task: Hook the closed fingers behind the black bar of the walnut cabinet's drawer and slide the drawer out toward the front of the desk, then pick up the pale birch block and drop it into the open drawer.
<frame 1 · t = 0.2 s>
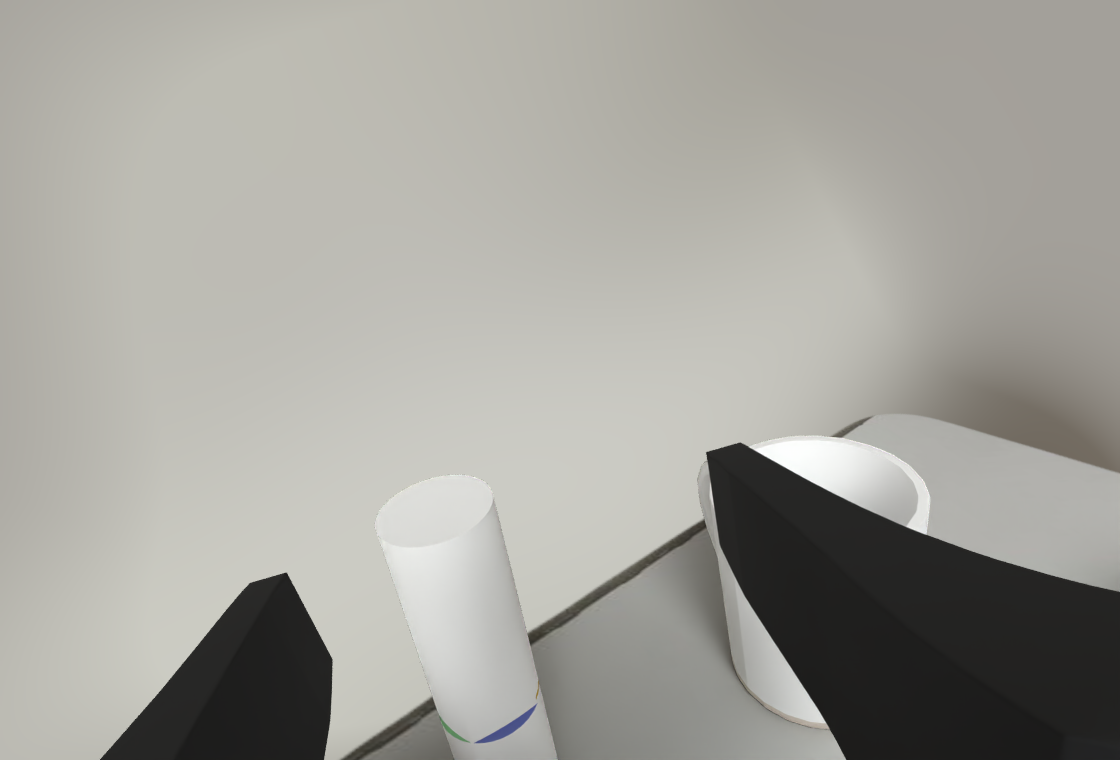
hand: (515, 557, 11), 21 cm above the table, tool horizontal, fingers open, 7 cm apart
mug: (796, 651, 35), on the table
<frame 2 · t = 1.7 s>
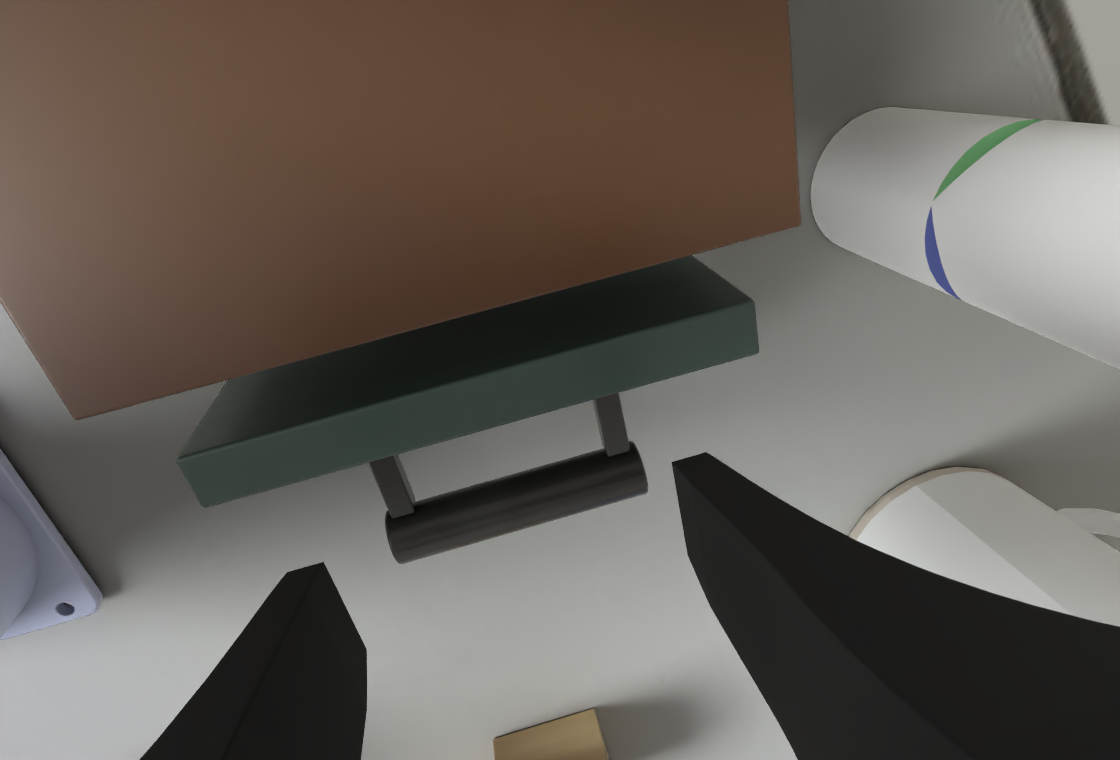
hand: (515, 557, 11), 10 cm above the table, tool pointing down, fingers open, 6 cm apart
drawer: (427, 195, 15), point 4 cm above the table, slide at 1.5 cm
tube: (872, 181, 21), on the table
mug: (945, 529, 28), on the table
block: (555, 755, 29), on the table
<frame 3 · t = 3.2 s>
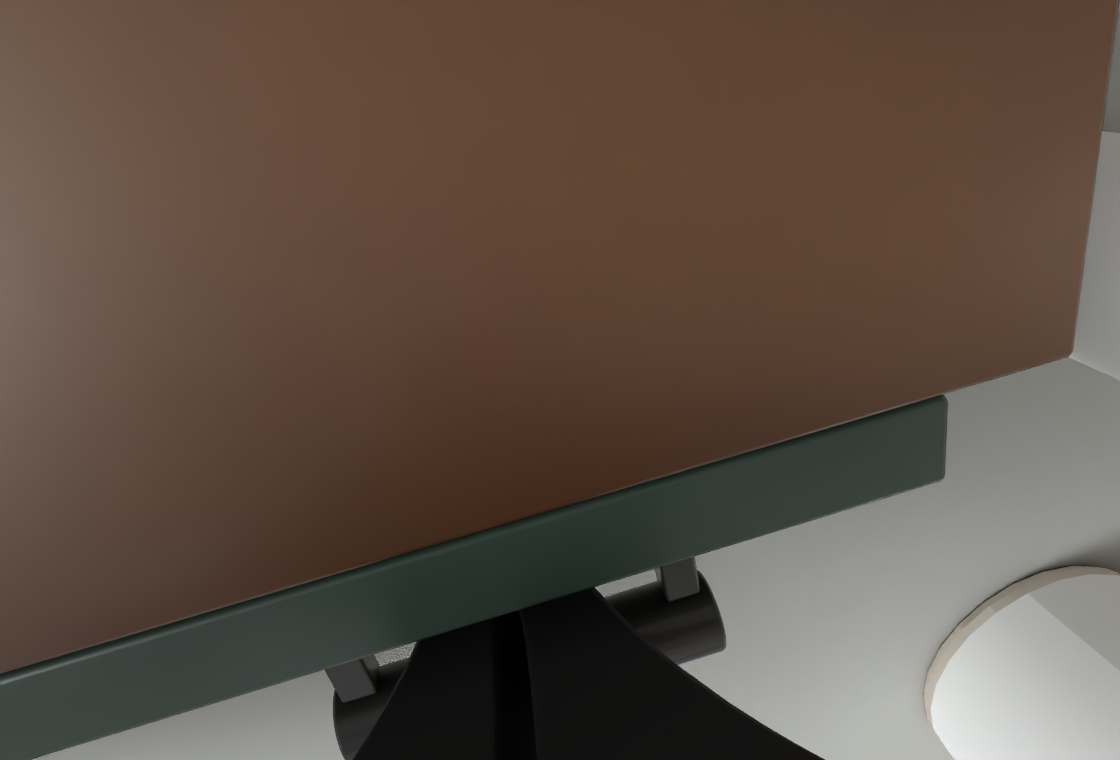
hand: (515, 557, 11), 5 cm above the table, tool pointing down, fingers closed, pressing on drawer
drawer: (388, 216, 9), point 4 cm above the table, slide at 0.7 cm, touching gripper
tube: (1001, 222, 16), on the table
mug: (1051, 635, 23), on the table
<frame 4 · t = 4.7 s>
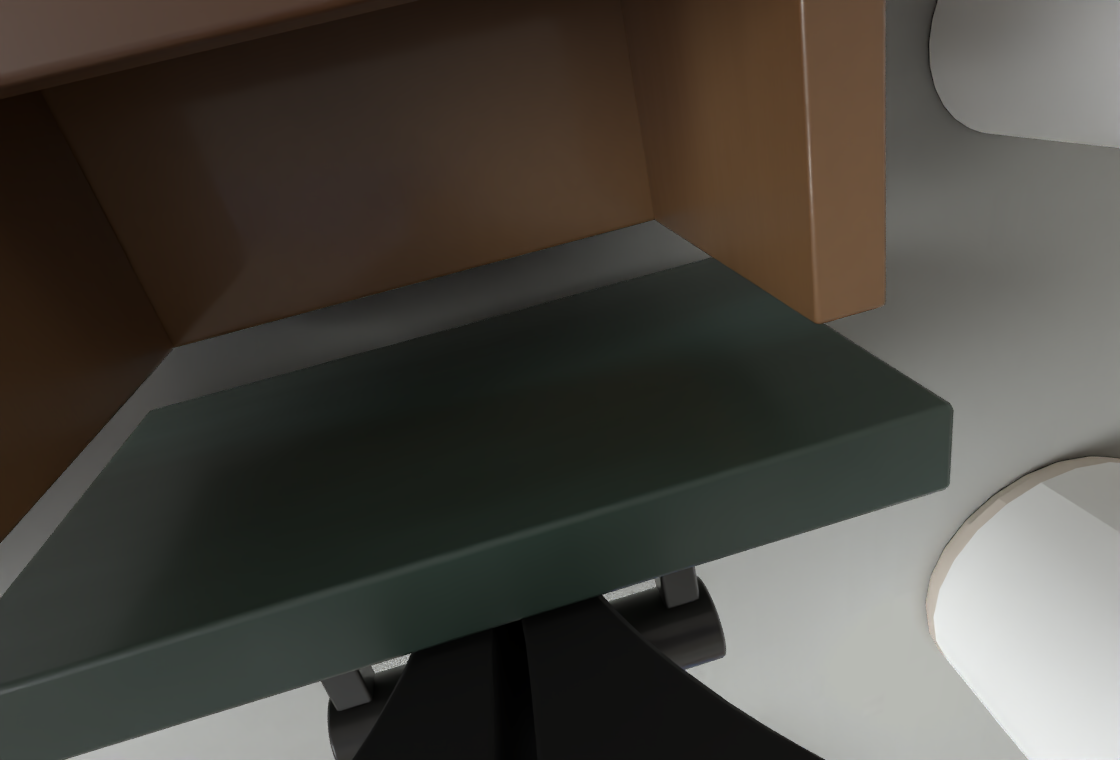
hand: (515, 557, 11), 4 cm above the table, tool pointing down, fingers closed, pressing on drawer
drawer: (384, 218, 9), point 4 cm above the table, slide at 4.9 cm, touching gripper
tube: (1019, 22, 14), on the table
mug: (1065, 540, 21), on the table
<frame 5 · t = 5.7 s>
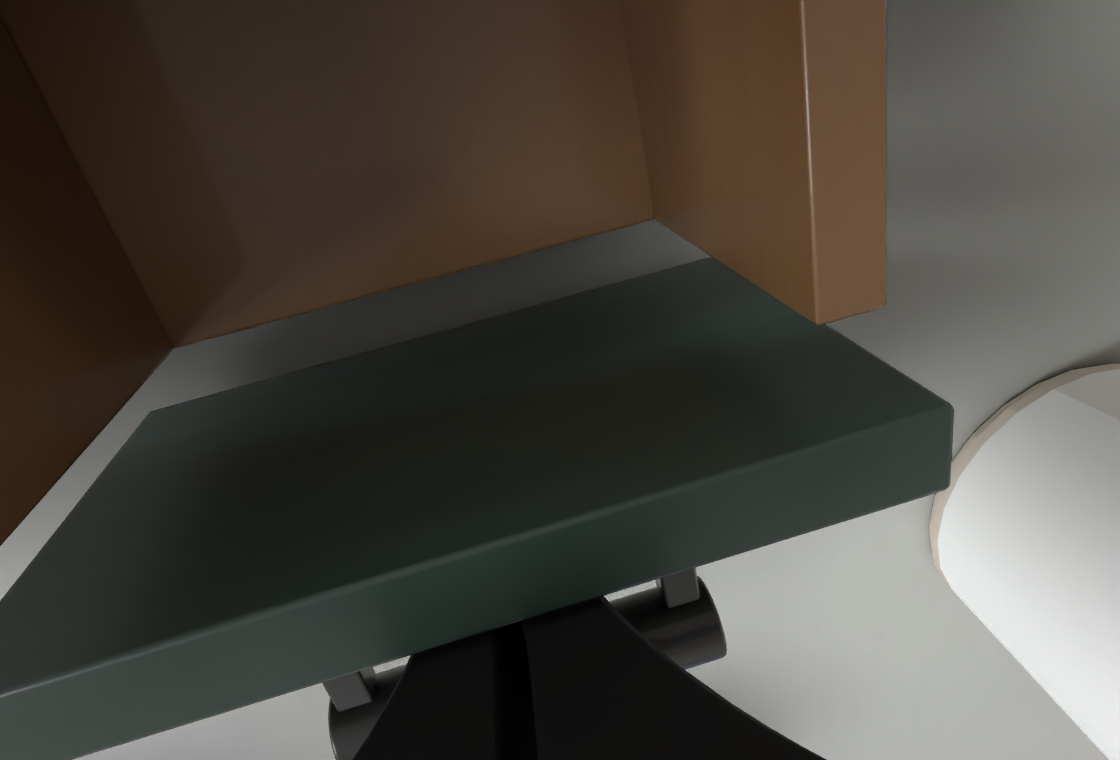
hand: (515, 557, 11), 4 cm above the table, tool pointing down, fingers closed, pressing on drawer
drawer: (383, 219, 9), point 4 cm above the table, slide at 7.8 cm, touching gripper
mug: (1077, 462, 19), on the table
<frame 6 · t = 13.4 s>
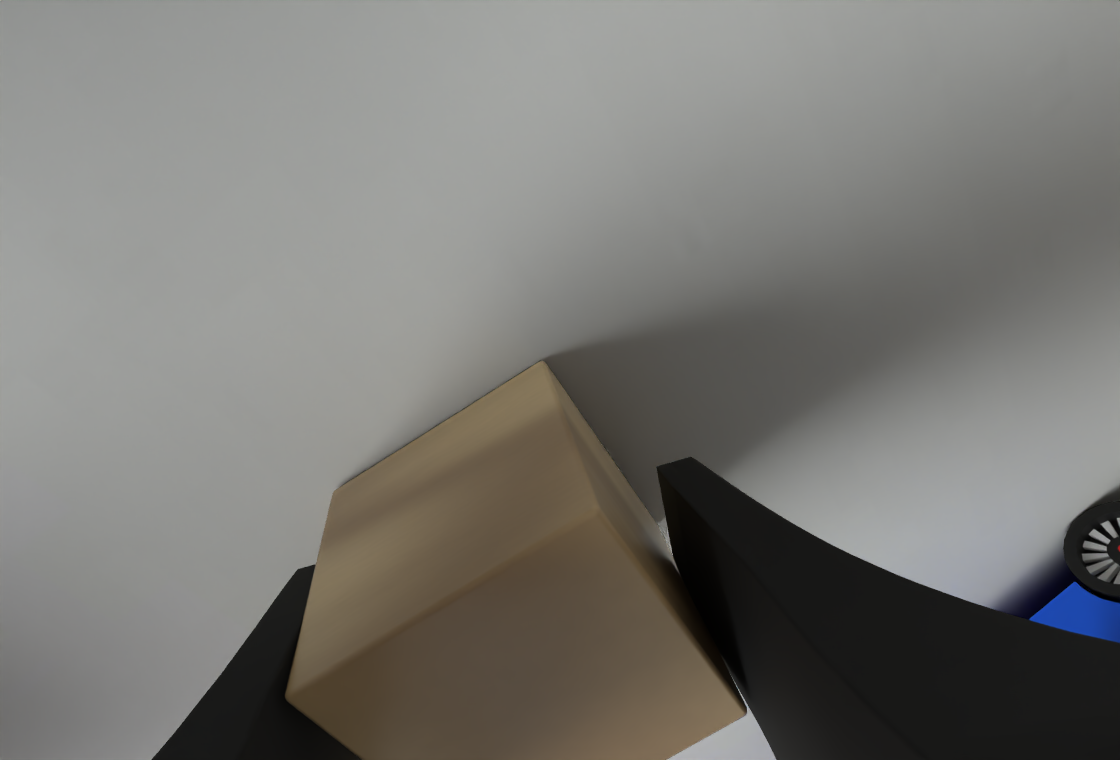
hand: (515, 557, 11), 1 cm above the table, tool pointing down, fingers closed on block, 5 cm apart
toy car: (983, 671, 17), on the table
block: (504, 508, 13), on the table, touching gripper
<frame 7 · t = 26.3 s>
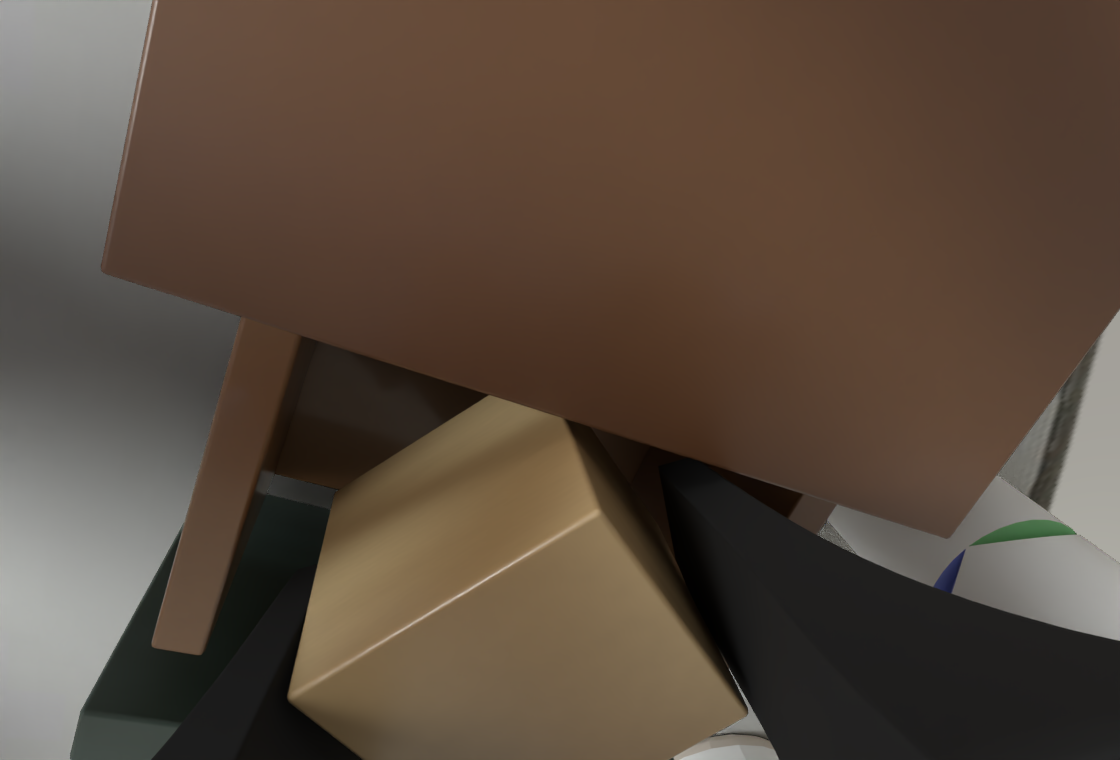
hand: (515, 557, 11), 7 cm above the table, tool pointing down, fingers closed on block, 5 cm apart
drawer: (472, 522, 15), point 4 cm above the table, slide at 7.6 cm
tube: (874, 471, 22), on the table
block: (505, 509, 13), point 6 cm above the table, touching gripper
when the fingers open (10 cm above the table, at t = 35.9 s): block drops 7 cm, resting on drawer.
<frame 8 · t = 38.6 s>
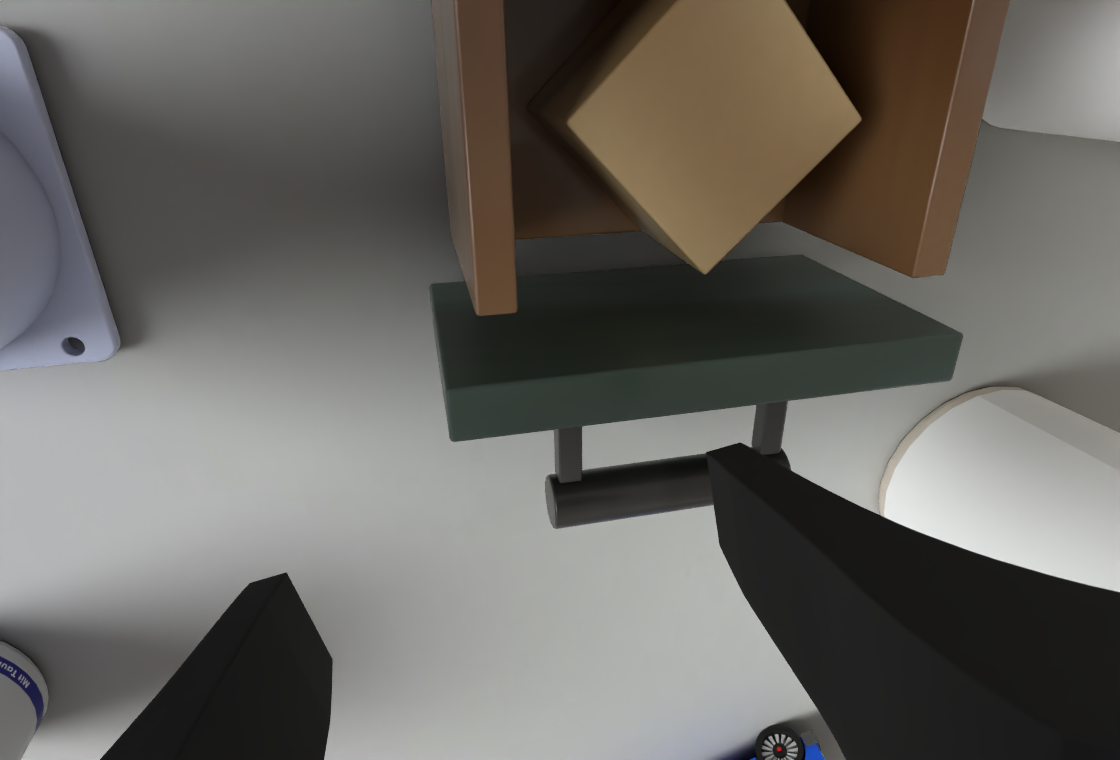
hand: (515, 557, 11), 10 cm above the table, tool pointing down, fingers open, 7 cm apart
drawer: (673, 185, 16), point 4 cm above the table, slide at 7.6 cm, touching block
tube: (1023, 54, 21), on the table
mug: (982, 455, 28), on the table
block: (647, 106, 17), point 2 cm above the table, touching drawer
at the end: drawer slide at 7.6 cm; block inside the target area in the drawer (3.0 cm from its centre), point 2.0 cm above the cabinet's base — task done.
